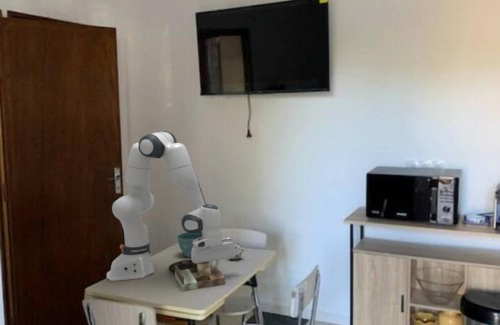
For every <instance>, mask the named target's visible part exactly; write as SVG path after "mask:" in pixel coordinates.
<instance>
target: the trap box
mask: <svg viewBox="0 0 500 325" xmlns="http://www.w3.org/2000/svg"><path fill="white" fill-rule="evenodd" d="M173 266H174V276H175V279H176V281H177V283H178V286H179V287H180V289H181V291H182V292H185V291H186V292H187V291H192V290H197V289H198V290H199V289H204V288H209V287H216V286H222V285H226V277H225V276H224V275H223V274H222V272H221V271H220V270H219V268H218V269H216V270H211V274H209V275H203V276H200V275H199V274H198V270H197V267H194V268H187V269H180V267H179V266H178V264H174V265H173ZM210 269H211V265H210Z"/></svg>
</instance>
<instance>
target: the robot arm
mask: <svg viewBox="0 0 500 325" xmlns="http://www.w3.org/2000/svg"><path fill="white" fill-rule="evenodd" d="M161 158H162V159H164V161H165V162H166V166H167V170H168V175H169V179H170V180H171V182H172V183H173V184H174V185H175V186H177V187H180V188H182V189H184V190H185V191H186V192H187V194H188V196H189V200H190V202H191V205H192V211H190V212H187V214H185V215H183V217H181V220H180V221H181V228H182V230H184V231H185V233H186V232H187V233H190V234H192V233H198V232H202V236H201V237H199V238H197V239H195V240H193V245H194V246H193V247H192V251H191V257H190V259H191V261H192V263H193V264H197V263H201V262H209V263H210V266H211V270H216V269H218V270H219V267H218V266H219V265H220V262H221V260H226V259H231V258H233V257H235V255H236V254H235V248H234V245H236V242H235V239H234V238H232V237H223V233H222V229H221V226H222V218H221V213H220V209H219V207H218V206H217V205H215V204H210V203H208V204H207V203H206V199H205V197H204V194H203V191H202V188H201V185H200V183H199V181H198V179H197V176H196V174H195V170H194V168H193V164H192V160H191V157H190V154H189V151H188V149H187V148H186V145H184V143H182V142H181V143H180V142H178V141H177V138H176V136H175V135H174V133H172V132H170V131H156V132H152V133H148V134H145V135H143V136H142V137H141V138H140V139H139V141H138V142H135V143H133V145H132V146H131V149H130V151H129V153H128V159H127V165H126V171H125V177H124V178H125V179H124V180H125V183H127V185H128V188H129V193H128V194H125V195H122V196H120V197H119V198H118V199H117V200H115V201H114V202H113V203H112V206H111V209H112V214H113V215H114V216H113V217H115V218H116V219H118V220H119V222H120V223H121V226H122V229H123V233H124V234H123V235H124V244H120V245H119V249H120V250H121V251H120V252H121V253H120V255H118V256H117V257H116V258H115V259H114V260H113V261H112V262H111V266H110V270H109V271H107V272H106V279H107V280H108V279H109V280H108V281H111V282H115V281H116V282H118V281H126V280H138V279H143V278H145V277H147V276H149V275H152V274H153V273H154V272H155V268H154V265H153V263H152V258H151V252H152V251H151V250H152V249H151V244H150V241H149V240H150V239H149V230H148V226H147V225H146V224H144V222H143V220H142V216H141V215H142V214H144V213H147V212H148V211H149V210H151V208H153V206H154V205H155V198H154V195H153V194H152V192H151V188H150V178H151V171H152V170H151V169H152V164H153V163H152V162H153V159H161ZM214 261H215V264H213V262H214Z"/></svg>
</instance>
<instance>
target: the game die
mask: <svg viewBox="0 0 500 325" xmlns="http://www.w3.org/2000/svg"><path fill="white" fill-rule="evenodd" d="M239 244H240V243H239V242H238V243H237V244H235V245H234V248H235V254H236V255H235V257H233V258H230V259H231V260H230V261H231V262H232V261H233V260H237V259H238V260H239V259H240V260H242V258H241V257H242V254H243V252H245V250H244V249H242V247H241V246H240V245H239Z"/></svg>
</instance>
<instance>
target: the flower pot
mask: <svg viewBox="0 0 500 325" xmlns="http://www.w3.org/2000/svg"><path fill="white" fill-rule="evenodd" d="M201 236H202V232H198V233H192V234H190V233H187V232H186V231H185V232H182V233H179V234H178V235H177V236H176V239H177V243H178V247H179V250H181V251H182V252H183V254H184V257H187V258H191V251H192V247H193V246H194V245H193V240H195V239H197V238H199V237H201Z"/></svg>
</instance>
